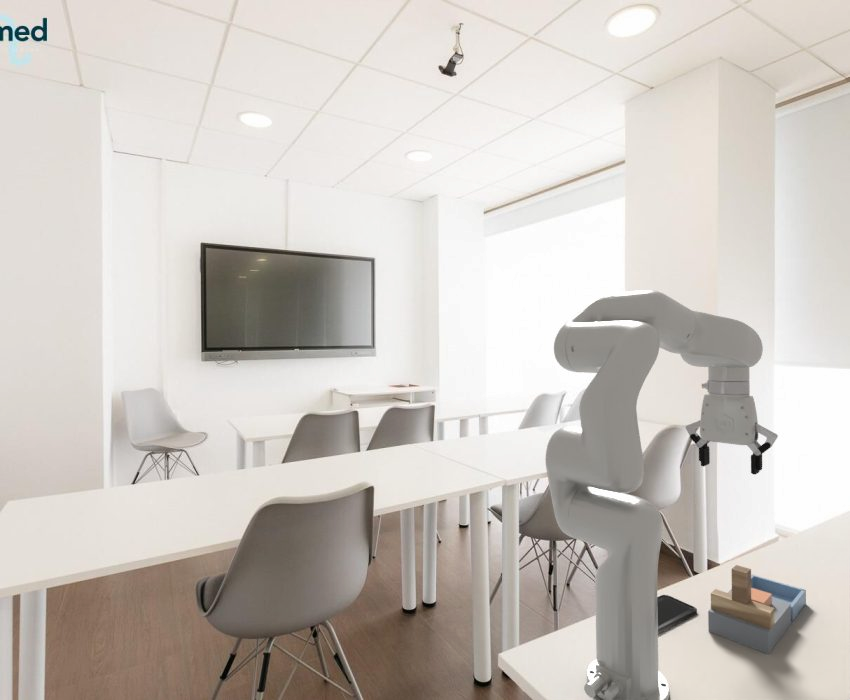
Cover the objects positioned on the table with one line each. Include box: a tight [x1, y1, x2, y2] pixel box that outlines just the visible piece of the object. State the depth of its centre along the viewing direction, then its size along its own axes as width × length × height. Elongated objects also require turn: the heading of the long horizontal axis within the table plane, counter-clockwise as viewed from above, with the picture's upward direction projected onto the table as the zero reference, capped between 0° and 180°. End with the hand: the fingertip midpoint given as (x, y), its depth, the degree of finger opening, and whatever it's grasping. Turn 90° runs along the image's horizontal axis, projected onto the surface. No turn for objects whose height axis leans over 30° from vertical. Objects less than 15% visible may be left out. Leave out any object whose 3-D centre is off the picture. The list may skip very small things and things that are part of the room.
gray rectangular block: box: [707, 588, 792, 655], centre depth 101 cm, size 14×10×4 cm
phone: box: [657, 594, 698, 635], centre depth 106 cm, size 8×1×15 cm
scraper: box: [710, 564, 775, 629], centre depth 98 cm, size 2×10×9 cm, turn 41°
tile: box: [751, 588, 772, 607], centre depth 102 cm, size 5×5×2 cm
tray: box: [751, 574, 807, 623], centre depth 109 cm, size 10×10×3 cm
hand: (729, 468), depth 110 cm, fingers open, 9 cm apart
